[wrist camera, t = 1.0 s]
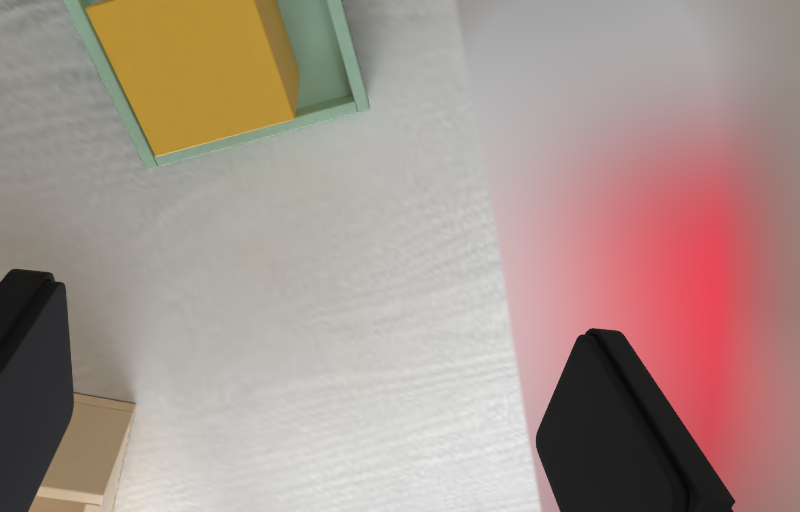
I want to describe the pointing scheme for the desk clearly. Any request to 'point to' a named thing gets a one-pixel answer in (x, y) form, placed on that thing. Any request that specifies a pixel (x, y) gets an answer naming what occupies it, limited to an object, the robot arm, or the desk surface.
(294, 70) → the mustard box
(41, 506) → the sand bin
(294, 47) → the green tray
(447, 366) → the desk surface
